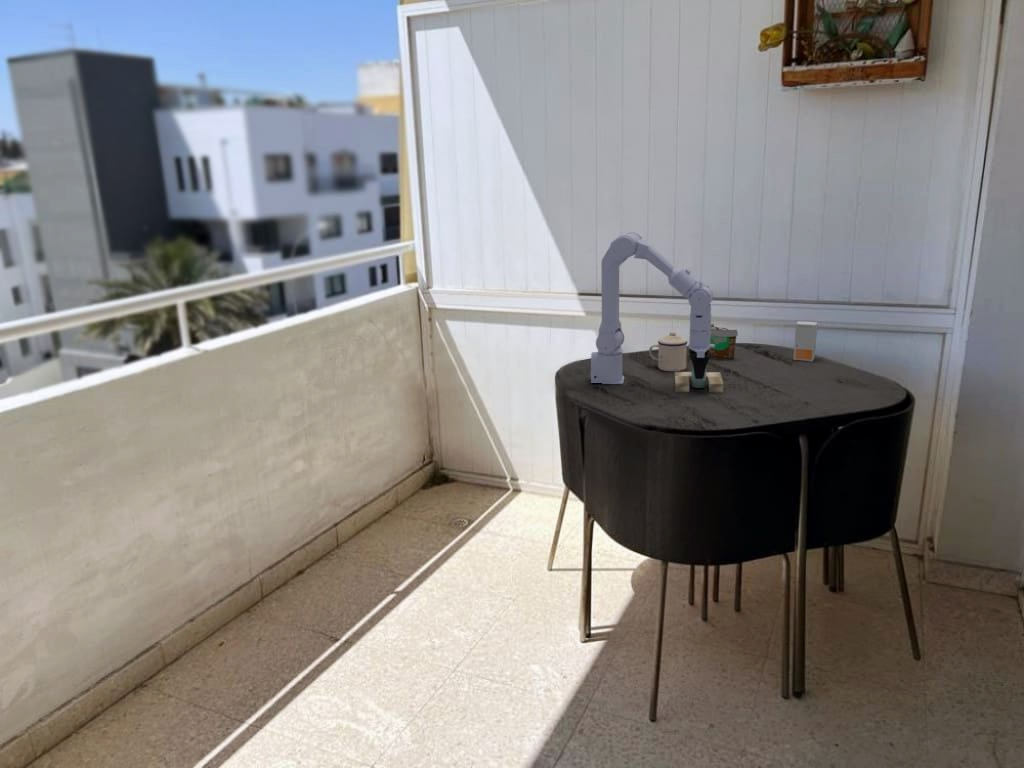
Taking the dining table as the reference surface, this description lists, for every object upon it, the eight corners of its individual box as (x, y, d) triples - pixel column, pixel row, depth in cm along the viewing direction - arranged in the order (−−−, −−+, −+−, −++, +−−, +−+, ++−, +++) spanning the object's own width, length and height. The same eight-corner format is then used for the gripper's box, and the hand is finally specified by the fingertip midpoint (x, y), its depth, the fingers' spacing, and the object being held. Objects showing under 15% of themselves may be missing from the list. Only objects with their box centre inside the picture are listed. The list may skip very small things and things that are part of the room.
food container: (697, 354, 244) (698, 325, 241) (711, 352, 246) (712, 323, 244) (721, 362, 233) (723, 332, 230) (736, 359, 236) (738, 329, 233)
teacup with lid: (689, 365, 231) (690, 329, 228) (682, 372, 223) (683, 336, 220) (653, 362, 236) (653, 327, 233) (645, 369, 229) (645, 333, 225)
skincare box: (792, 360, 232) (795, 323, 229) (795, 357, 236) (797, 320, 232) (813, 361, 229) (816, 324, 226) (815, 358, 233) (818, 322, 229)
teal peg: (691, 387, 206) (692, 370, 205) (691, 383, 210) (691, 367, 209) (706, 387, 205) (706, 370, 204) (705, 384, 209) (705, 367, 208)
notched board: (675, 391, 205) (675, 383, 204) (674, 379, 216) (674, 371, 216) (723, 392, 202) (723, 383, 202) (719, 380, 214) (720, 372, 213)
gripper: (716, 335, 196) (714, 383, 199) (713, 324, 209) (711, 369, 213) (689, 335, 197) (688, 383, 201) (688, 324, 211) (686, 369, 214)
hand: (698, 376), depth 207 cm, fingers open, 4 cm apart
